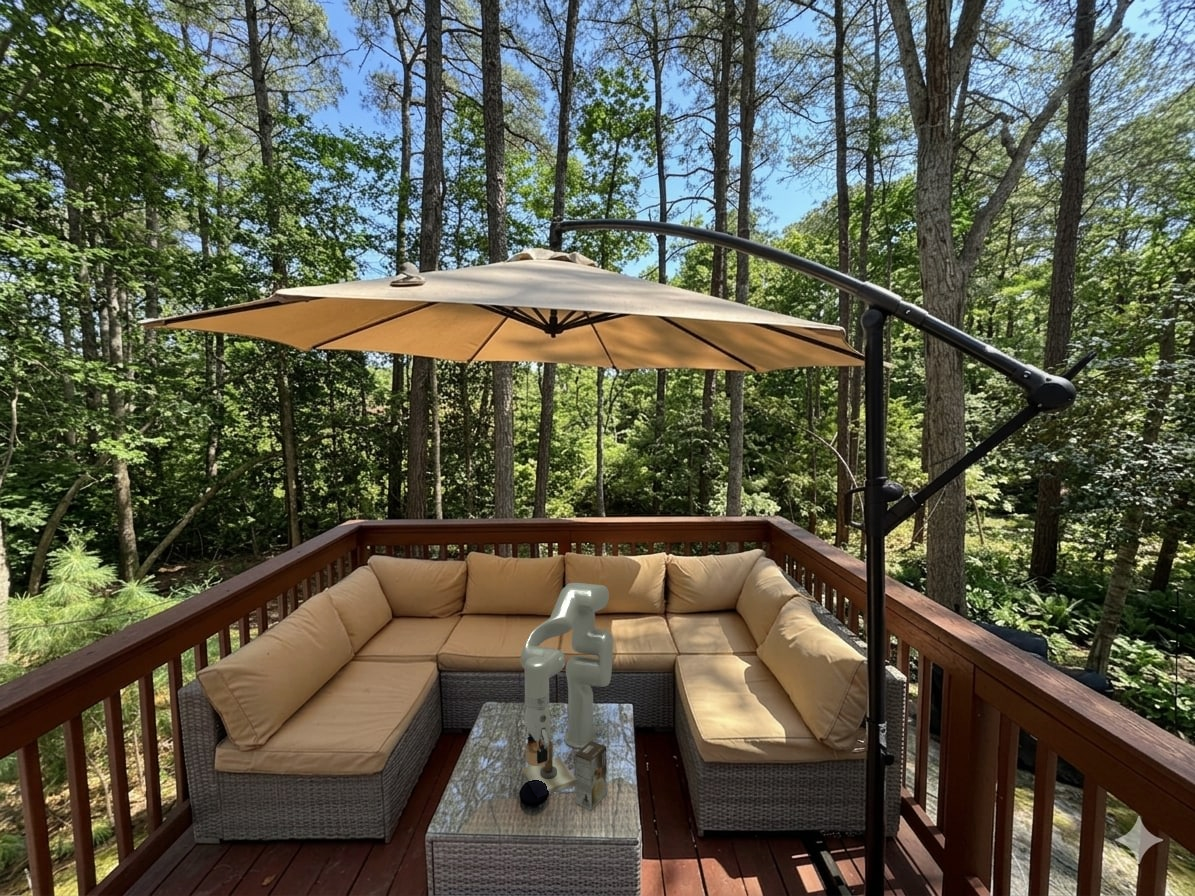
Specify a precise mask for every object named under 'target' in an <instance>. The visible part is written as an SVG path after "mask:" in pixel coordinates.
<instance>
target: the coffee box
mask: <svg viewBox="0 0 1195 896" xmlns="http://www.w3.org/2000/svg"><path fill="white" fill-rule="evenodd" d="M607 768H608V767H607V746H606V745H604V744H601V743H598V742H593V741H590V742H589V743H588V744H586V745H585V746H584V747H583V748H580V749H579V751H578V752H577V753H576V754H575V778H576V786H575V804H576V805H578V806H581V807H583V808H585V809H587V810H590V811H593V810H594V809H595V807H597V805H599V803H600V802H601V801H602V799H604V798H605V797H606V795H608V794H607V780H608V778H607Z"/></svg>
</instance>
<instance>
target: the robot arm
mask: <svg viewBox="0 0 1195 896" xmlns="http://www.w3.org/2000/svg"><path fill="white" fill-rule="evenodd" d="M609 599H610V592H609V589H608V588H607V586H605V585H602V584H594V583H583V582H569V583H567V584H566V585H565V587H563V588H562V589H561V590H560V593H559V595H558V597H557V600H556V602H555V605H554V607H553V609H552V612H551V615H550V617H549V618H548V619H546V620H545V621H542V623H540V624H539V625H538V626H536V628H534V629H533V630H532V631H531V632H530V634H529V635H528V637H527V639H526V641H525V643H524V646H523V648H522V651H521V655H520V665H521V667H522V668H523V669H524V706H525V726H526V729H527V732H526V733H527V743H529V742H530V741H532V740H535V741H537V746H538V750H537V763H538V764H540V763H543V762H546V761H547V749H548V746H549V741H548V740H551V737H552V728H551V715H550V714H551V713H550V708H549V705H550V679H551V678H552V677H554V676H555V675H557V674H559V673H560V672H561V671H562V670H563V669H564V667H565V675H566V681H567V689H568V693H567V694H568V695H567V697H568V698H567V699H568V700H567V702H568V703H567V705H568V707H567V713H568V714H567V716H568V717H567V719H568V720H567V721H568V722H567V723H568V724H567V725H568V726H567V731H566V732H565V733H564V735H563V736H564V737H563V740H564V742H565V744H566V745H567V746H568V747H571V748H573V749H574V748H575V749H582V748H583V747H584V746H585V745H586V744H588V743H589V742H590V741H593V742H595V743H597V742H598V741H597V740H598V734H597V733H598V732H601V731H604V730H605V725H604V724H603V723H602V724H599V723H598V722H595V723H594V693H593V690H592V686H594V687H600V688H603V687H607V686H609V684H610V682H611V679H612V670H613V668H612V667H613V653H614V652H613V651H614V650H613V648H614V640H613V639H614V638H613V635H612V633H611V632H610V631H608V630H606V629H601V628H596V625H595V624H596V623H595V622H596V614H595V613H596V612H598V611H600V610H602V609H605V608H606V606H607V605H608V603H609ZM571 631H572V632H571ZM569 632H571V647H572V651H574V652H576V653H579V654H584V655H592V656H596V657H598V658H596V657H595V658H594V657H588V656H582V655H580V656H579V655H577V656H576V655H575V656H572V657H570V658H569V659H568V660H567V662H566V655H565V653H564V651H562V650H561V649H557V648H553V647H552V648H550V647H546V646H540V645H541V644H542V643H544V642H545V641H547V640H549V639H551V638H555V637H558V636H562V635H565V634H567V633H569ZM565 664H566V665H565ZM541 741H543V745H541V746H540V742H541Z"/></svg>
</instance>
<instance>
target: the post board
mask: <svg viewBox="0 0 1195 896" xmlns="http://www.w3.org/2000/svg"><path fill="white" fill-rule="evenodd" d="M548 741H549V760H548V762H546V763H545V764H544V765H541V766H532V765H528V766H525V767H522V768H521V775H522V777H523V778H524V780H525V781H532V780H539V781H542V782H543V783H545V784H546V786H547V790H548V791H549V793H550V795H553V794H555V793H554V792H556V793H558V792H562V791H564V790H567V789H570V788H572V787H576V776H574V774H573V773H572V772H571V770H570V769H569V767H567V765H566V764H565V762H564V761H563V760H562V759H561V757H560V756H556V757H554V758H553V755H554V754H553V752H554V751H553V749H554V747H553V745H554V743H553V741H551V739H548ZM561 790H562V791H561ZM552 793H553V794H552Z"/></svg>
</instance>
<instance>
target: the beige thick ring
mask: <svg viewBox="0 0 1195 896" xmlns="http://www.w3.org/2000/svg"><path fill="white" fill-rule="evenodd" d="M541 745H543V741H541V742H540V746H541ZM537 750H538V746H537V741H535V740H532V741H530V742H529V743H528V742H527V743H526V744H525V761H526V763H527V765H528V766H531V765H532V766H541V765H544V764H545V763H546V762H548V760H549V746H548V749H547V761H546V762H543V763H540V764H538V763H537Z"/></svg>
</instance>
